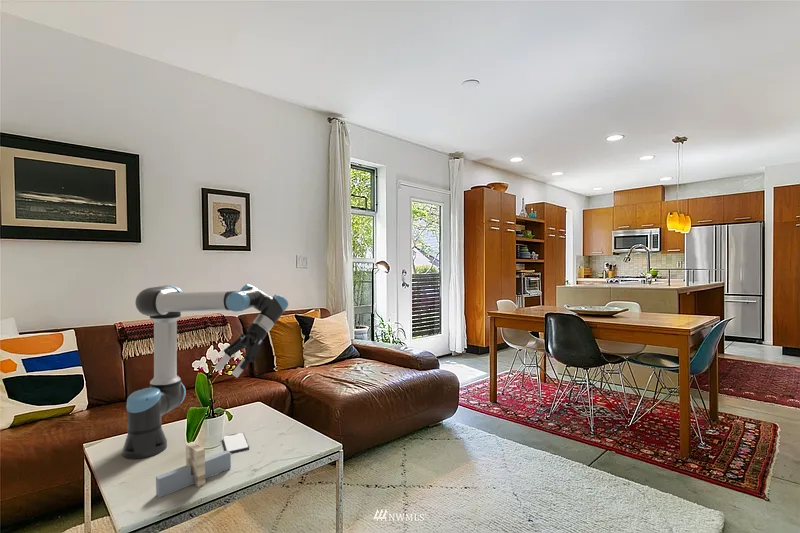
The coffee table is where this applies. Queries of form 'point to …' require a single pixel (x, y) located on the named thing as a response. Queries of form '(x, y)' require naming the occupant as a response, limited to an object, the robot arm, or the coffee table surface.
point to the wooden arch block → (196, 462)
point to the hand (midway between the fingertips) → (225, 372)
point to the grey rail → (191, 474)
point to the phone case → (235, 442)
